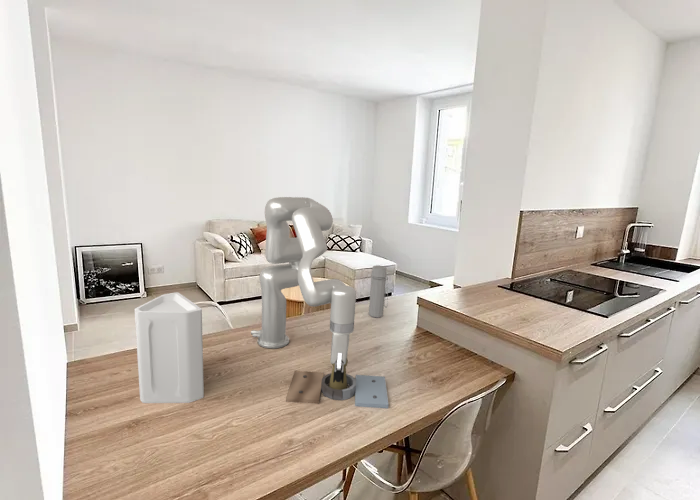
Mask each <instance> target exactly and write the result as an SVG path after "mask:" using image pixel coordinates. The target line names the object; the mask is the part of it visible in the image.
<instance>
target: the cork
mask: <svg viewBox="0 0 700 500" xmlns="http://www.w3.org/2000/svg"><path fill="white" fill-rule="evenodd" d="M348 361H349V360H348V358H347V359H346V364H345V365H344V367H343V371H344V379H343V383H342V381H340V382H336V380H335V382H333V376H334V370H335V363H334V364H331V365H332V367H331V368H332V369H331V372H330V373H331V378H330V383H329V384H328V387H330V388H332V389H338V390H343V389H347V388H348V384H347V377H346V374H347V366H348V363H349V362H348ZM336 362H337V361H336ZM341 362H343V361H341ZM341 367H342V365H341Z"/></svg>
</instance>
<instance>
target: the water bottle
mask: <svg viewBox="0 0 700 500" xmlns="http://www.w3.org/2000/svg"><path fill="white" fill-rule="evenodd" d="M388 279H389V277H388V276H387V267H386V266H384V265H379V264H378V265H373V266H372V270H371V277H370V291H369V292H370V293H369V304H368V315H369V316H370V317H371V318H375V317H376V318H382V316H384V308H388V305H389V302H387V304H386V305H385V302H386V299H385V297H386V296H387V299H389V293H388V292H389V291H388V283H387V281H388ZM386 292H387V293H386ZM386 294H387V295H386Z"/></svg>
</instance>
